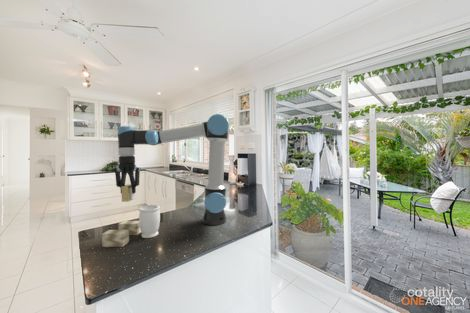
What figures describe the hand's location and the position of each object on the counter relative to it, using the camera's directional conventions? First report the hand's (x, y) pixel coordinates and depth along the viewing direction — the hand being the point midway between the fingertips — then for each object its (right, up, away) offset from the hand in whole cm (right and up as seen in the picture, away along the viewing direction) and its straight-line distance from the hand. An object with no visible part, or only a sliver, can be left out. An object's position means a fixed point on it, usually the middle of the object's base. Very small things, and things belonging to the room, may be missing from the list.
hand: (128, 199), depth 108 cm
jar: (+12, -19, 0) cm, 22 cm away
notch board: (0, -19, -4) cm, 20 cm away
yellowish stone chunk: (0, 0, 0) cm, 0 cm away
